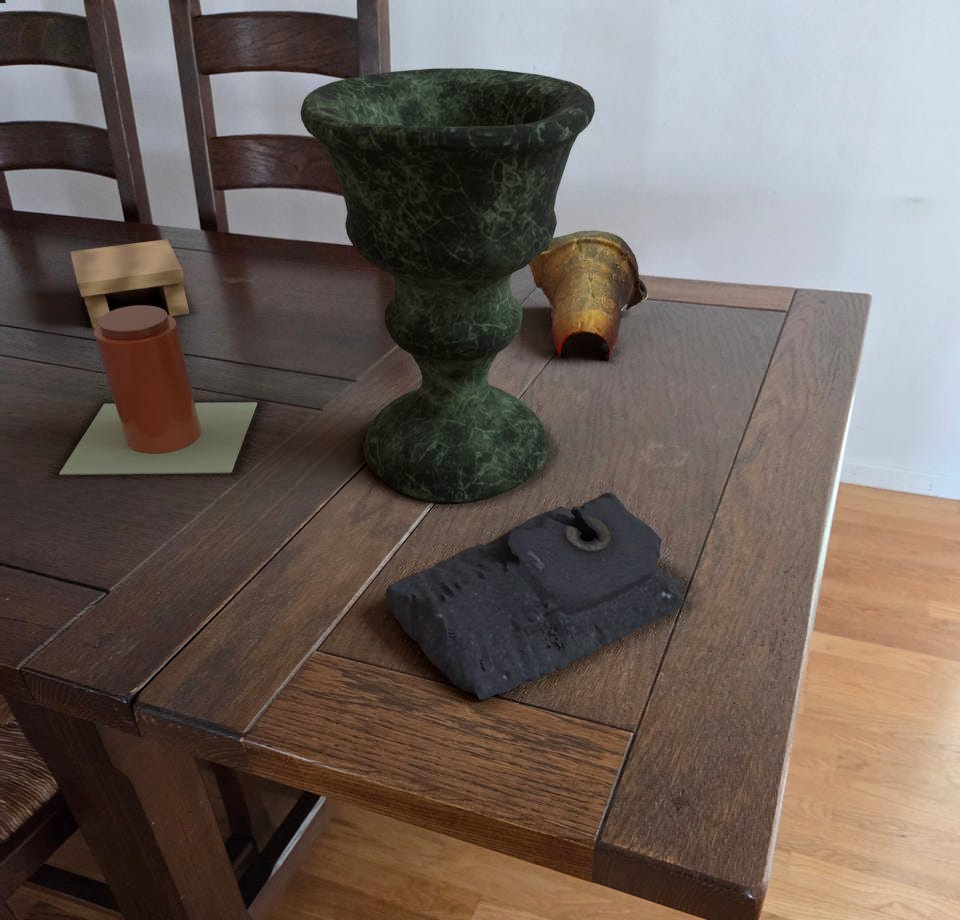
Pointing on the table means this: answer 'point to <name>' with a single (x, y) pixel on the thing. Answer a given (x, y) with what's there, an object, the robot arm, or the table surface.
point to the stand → (129, 275)
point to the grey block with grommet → (537, 596)
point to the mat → (207, 454)
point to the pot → (588, 284)
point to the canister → (148, 378)
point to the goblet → (451, 253)
